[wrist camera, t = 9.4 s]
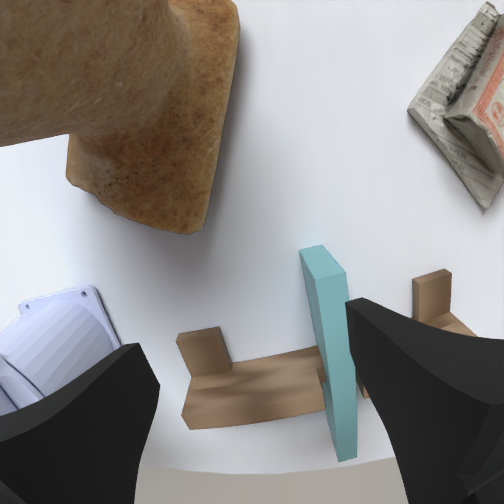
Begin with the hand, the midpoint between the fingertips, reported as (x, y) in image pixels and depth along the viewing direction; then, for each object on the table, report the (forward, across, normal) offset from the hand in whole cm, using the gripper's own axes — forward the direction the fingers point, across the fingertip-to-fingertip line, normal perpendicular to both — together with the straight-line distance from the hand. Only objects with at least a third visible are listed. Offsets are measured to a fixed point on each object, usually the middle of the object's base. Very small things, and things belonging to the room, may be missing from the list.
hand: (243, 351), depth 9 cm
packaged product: (+10, -22, -9) cm, 26 cm away
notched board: (+9, -4, +8) cm, 13 cm away
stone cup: (+10, +4, -12) cm, 16 cm away
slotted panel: (+9, -4, +8) cm, 13 cm away
